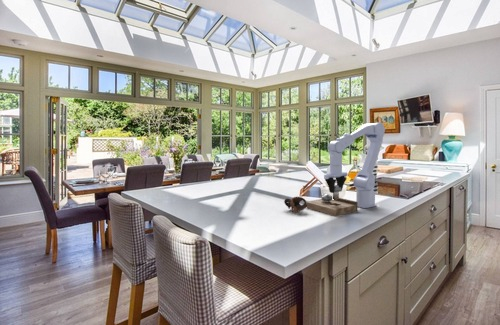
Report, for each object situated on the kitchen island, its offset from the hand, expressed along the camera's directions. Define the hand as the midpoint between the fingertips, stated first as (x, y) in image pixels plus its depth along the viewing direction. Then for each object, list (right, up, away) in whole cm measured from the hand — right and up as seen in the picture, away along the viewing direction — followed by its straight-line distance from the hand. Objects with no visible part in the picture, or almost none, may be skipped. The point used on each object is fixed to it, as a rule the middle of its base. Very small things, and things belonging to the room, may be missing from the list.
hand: (335, 191), depth 146 cm
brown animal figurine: (-20, -10, +2) cm, 22 cm away
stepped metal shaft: (0, -4, 0) cm, 4 cm away
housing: (-1, -9, +4) cm, 10 cm away
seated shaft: (-3, -9, +6) cm, 11 cm away
